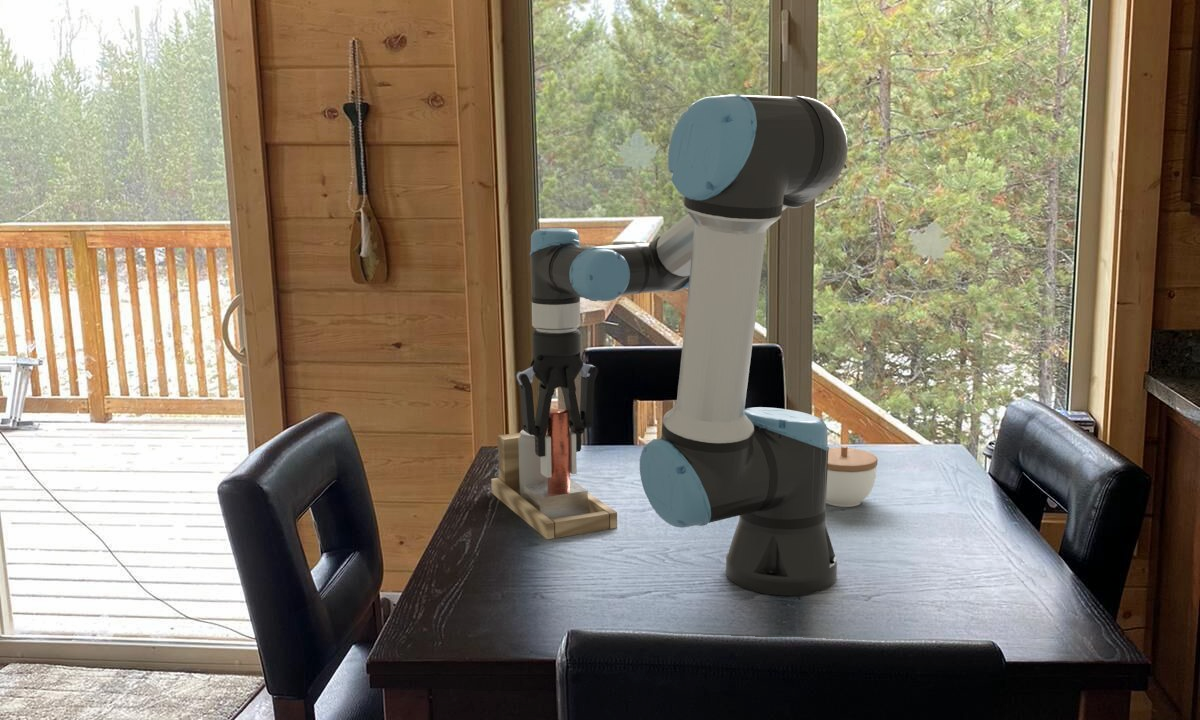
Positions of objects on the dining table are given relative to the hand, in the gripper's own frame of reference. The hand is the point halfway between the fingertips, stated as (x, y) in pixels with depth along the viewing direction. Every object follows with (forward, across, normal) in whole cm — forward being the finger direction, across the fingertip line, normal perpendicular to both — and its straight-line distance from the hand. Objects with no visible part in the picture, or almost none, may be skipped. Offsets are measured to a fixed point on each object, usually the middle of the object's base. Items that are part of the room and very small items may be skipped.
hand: (558, 473), depth 178 cm
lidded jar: (+7, -45, +14) cm, 48 cm away
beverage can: (+7, 0, -9) cm, 11 cm away
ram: (+7, 0, -1) cm, 7 cm away
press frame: (+7, 0, -3) cm, 8 cm away
